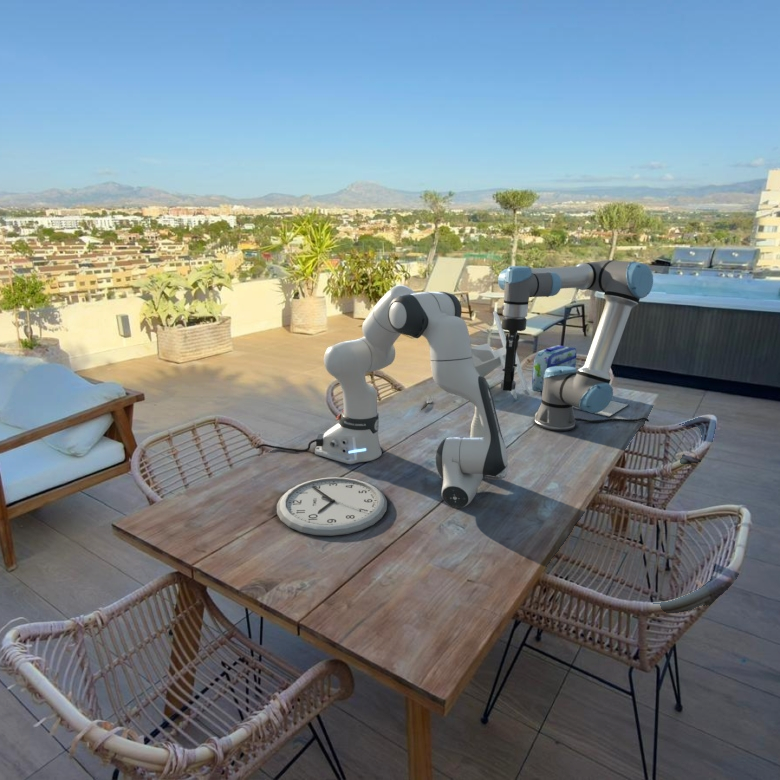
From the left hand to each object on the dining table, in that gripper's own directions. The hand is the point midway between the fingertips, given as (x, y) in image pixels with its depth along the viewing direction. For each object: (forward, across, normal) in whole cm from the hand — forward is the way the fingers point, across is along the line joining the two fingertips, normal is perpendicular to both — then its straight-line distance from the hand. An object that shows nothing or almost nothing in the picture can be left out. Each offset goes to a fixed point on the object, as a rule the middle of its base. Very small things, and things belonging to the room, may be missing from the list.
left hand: (477, 454), depth 162 cm
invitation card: (+84, -38, +6) cm, 92 cm away
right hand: (+17, -5, -17) cm, 25 cm away
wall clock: (-35, +32, +6) cm, 48 cm away
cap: (+17, -5, -19) cm, 26 cm away
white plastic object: (+83, +15, +6) cm, 85 cm away
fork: (+55, +33, +6) cm, 65 cm away
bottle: (-1, 0, +6) cm, 6 cm away
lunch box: (+100, -16, +6) cm, 101 cm away
